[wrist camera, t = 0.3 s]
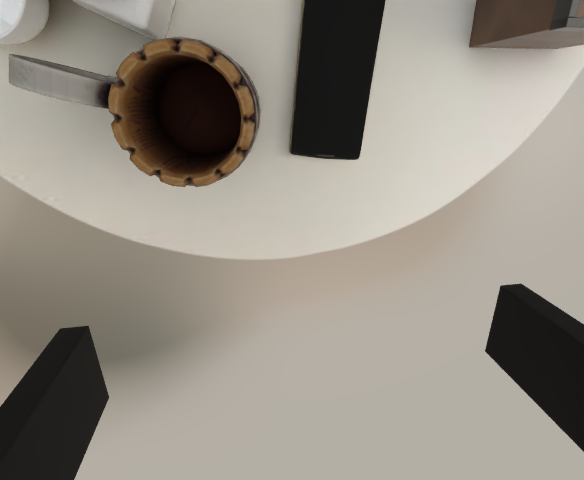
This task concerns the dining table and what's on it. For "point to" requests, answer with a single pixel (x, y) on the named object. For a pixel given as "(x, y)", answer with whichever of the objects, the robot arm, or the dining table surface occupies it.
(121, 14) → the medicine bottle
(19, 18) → the cup
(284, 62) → the dining table surface
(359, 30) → the smartphone
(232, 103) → the mug
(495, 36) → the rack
